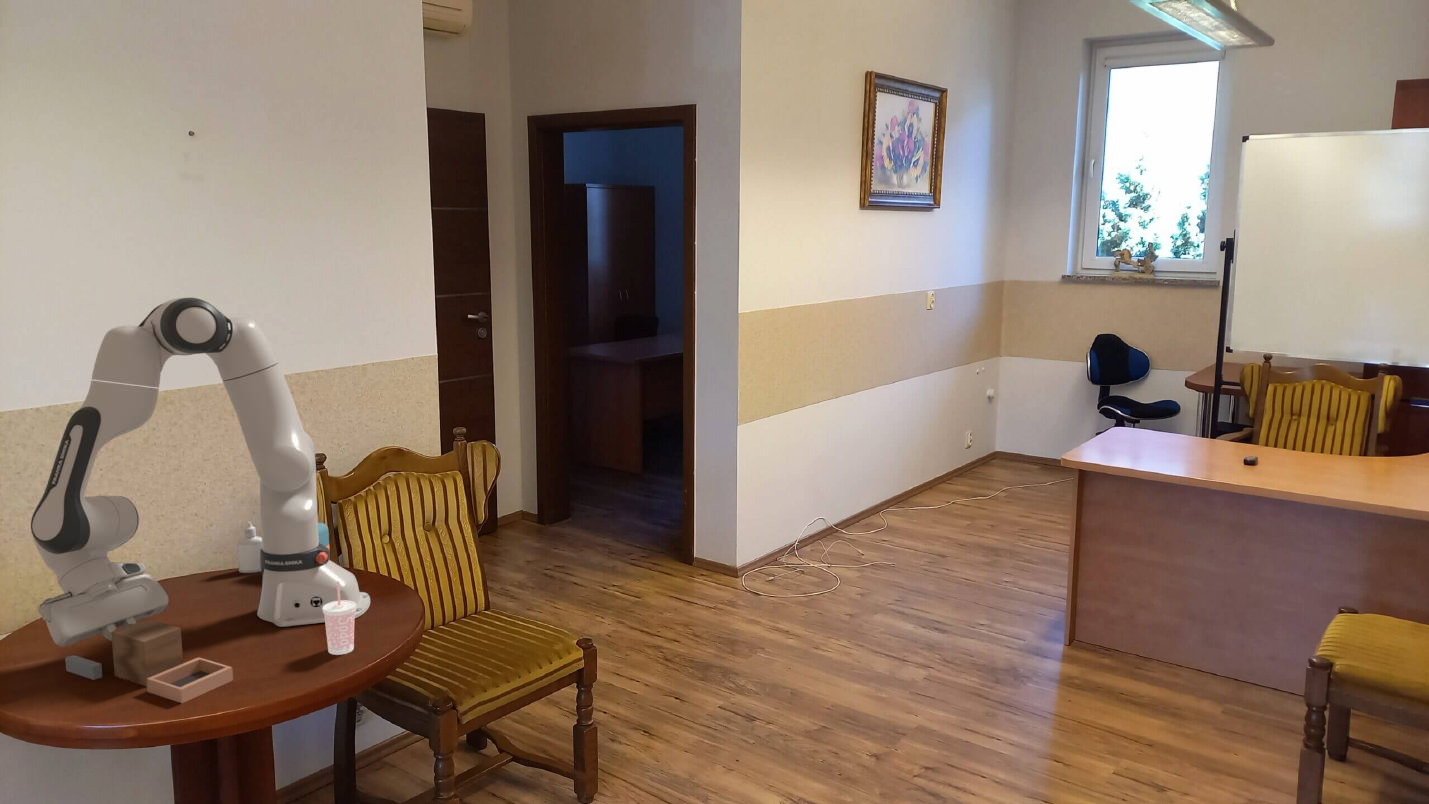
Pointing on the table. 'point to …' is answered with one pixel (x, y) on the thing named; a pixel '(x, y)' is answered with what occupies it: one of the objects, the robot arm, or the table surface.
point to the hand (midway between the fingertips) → (130, 645)
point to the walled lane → (83, 667)
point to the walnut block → (146, 650)
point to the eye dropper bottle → (249, 551)
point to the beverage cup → (340, 625)
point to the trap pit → (189, 680)
